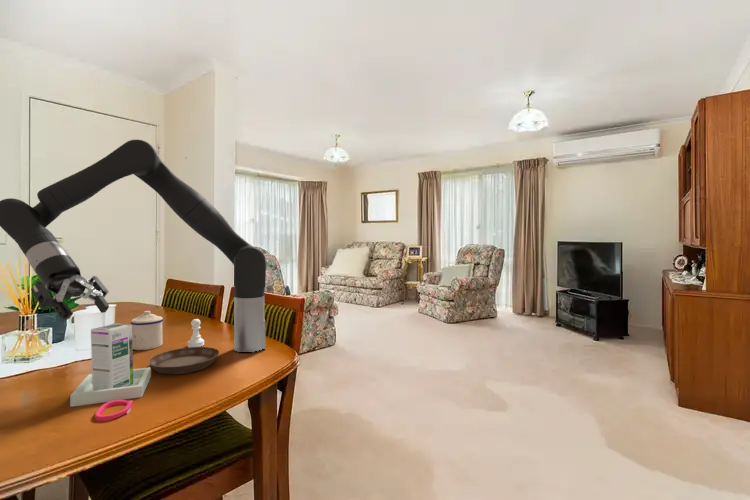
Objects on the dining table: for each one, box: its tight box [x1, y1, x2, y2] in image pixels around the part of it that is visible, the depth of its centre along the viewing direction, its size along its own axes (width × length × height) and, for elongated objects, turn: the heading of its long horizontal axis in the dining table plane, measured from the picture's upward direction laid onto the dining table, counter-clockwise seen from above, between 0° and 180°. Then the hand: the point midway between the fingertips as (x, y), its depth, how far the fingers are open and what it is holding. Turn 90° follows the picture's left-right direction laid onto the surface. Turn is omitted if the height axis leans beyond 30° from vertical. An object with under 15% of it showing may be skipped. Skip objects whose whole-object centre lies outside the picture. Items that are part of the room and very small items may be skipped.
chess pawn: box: [187, 318, 205, 348], centre depth 123 cm, size 5×5×9 cm
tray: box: [69, 366, 152, 408], centre depth 87 cm, size 13×13×2 cm
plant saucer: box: [148, 346, 220, 375], centre depth 105 cm, size 18×18×3 cm
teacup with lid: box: [130, 310, 164, 351], centre depth 121 cm, size 12×9×12 cm
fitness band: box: [94, 399, 134, 422], centre depth 77 cm, size 8×6×2 cm
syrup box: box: [90, 322, 134, 390], centre depth 87 cm, size 6×6×14 cm
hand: (88, 313), depth 89 cm, fingers open, 8 cm apart
